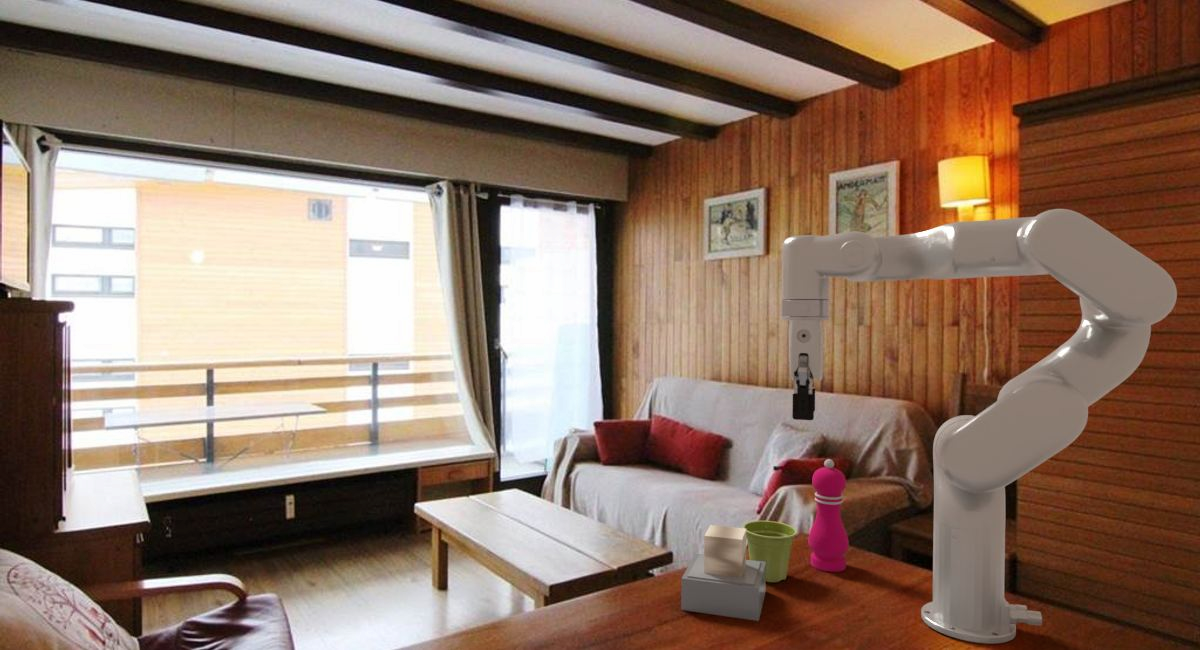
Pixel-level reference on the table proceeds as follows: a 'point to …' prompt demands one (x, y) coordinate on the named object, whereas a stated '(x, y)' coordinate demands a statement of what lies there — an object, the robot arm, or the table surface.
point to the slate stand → (724, 590)
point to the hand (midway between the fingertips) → (804, 415)
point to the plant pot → (770, 546)
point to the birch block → (725, 551)
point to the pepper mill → (828, 520)
